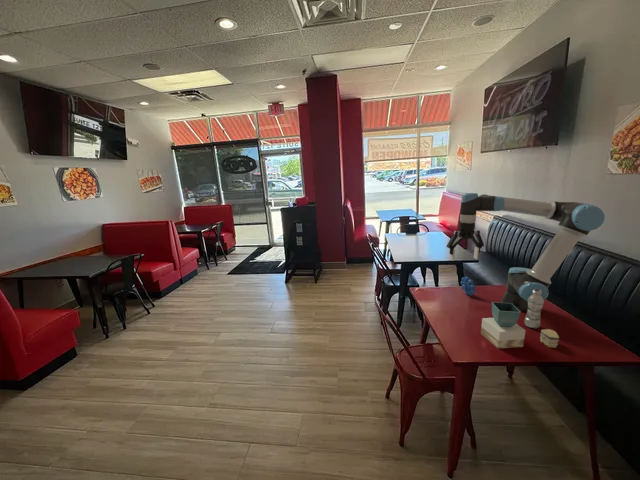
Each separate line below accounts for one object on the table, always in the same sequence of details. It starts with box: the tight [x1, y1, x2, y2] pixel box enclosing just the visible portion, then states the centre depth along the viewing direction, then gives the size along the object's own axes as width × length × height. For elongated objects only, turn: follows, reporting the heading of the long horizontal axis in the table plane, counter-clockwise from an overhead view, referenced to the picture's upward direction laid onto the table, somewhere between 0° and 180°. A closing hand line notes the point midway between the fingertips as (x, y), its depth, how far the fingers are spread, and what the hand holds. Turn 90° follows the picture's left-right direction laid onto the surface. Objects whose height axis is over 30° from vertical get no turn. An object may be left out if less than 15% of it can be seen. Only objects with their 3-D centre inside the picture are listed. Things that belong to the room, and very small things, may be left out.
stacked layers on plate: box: [539, 328, 560, 348], centre depth 122 cm, size 10×9×6 cm
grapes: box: [460, 276, 476, 297], centre depth 173 cm, size 12×7×12 cm, turn 16°
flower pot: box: [491, 301, 522, 327], centre depth 123 cm, size 9×9×9 cm
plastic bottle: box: [523, 289, 545, 329], centre depth 134 cm, size 6×7×20 cm
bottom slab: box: [480, 327, 525, 349], centre depth 126 cm, size 12×12×4 cm
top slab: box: [480, 317, 526, 341], centre depth 125 cm, size 12×12×4 cm
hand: (464, 259), depth 149 cm, fingers open, 13 cm apart
